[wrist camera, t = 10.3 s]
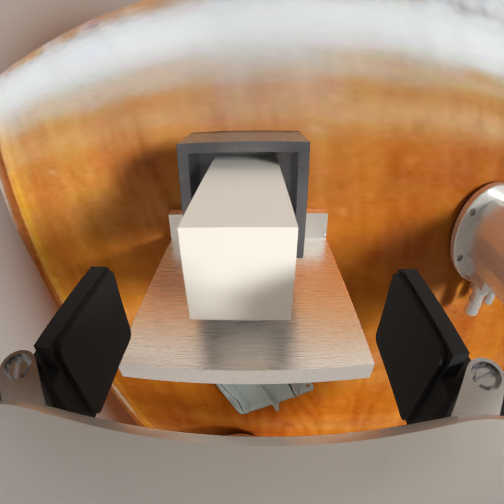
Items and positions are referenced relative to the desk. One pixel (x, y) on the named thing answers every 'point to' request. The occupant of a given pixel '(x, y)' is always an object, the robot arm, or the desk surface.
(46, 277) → the desk surface
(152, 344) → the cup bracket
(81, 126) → the desk surface
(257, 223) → the cream rectangular beam
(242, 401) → the metal bracket
